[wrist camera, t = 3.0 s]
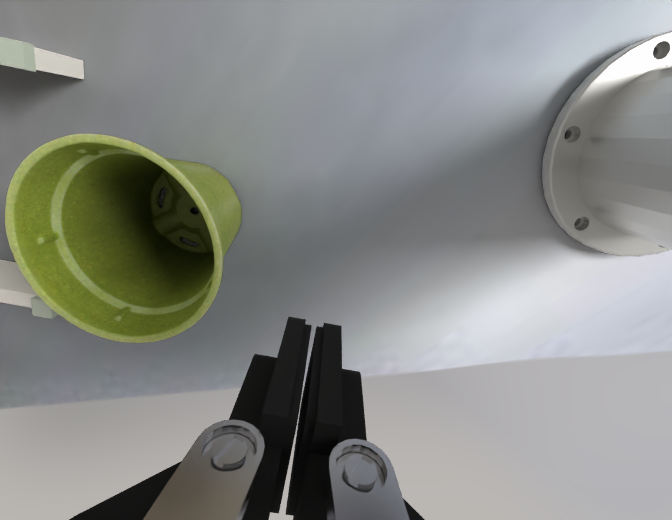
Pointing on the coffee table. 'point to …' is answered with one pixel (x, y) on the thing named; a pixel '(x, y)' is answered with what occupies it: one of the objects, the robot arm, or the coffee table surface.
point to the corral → (5, 276)
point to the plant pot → (120, 235)
